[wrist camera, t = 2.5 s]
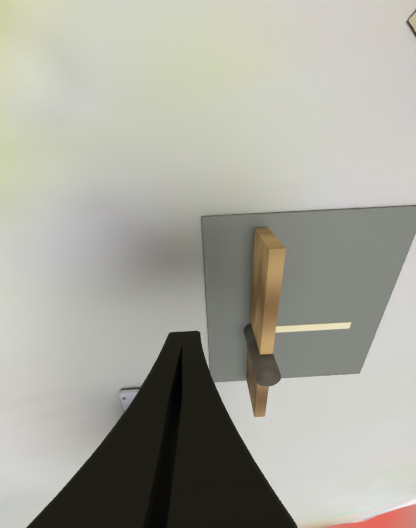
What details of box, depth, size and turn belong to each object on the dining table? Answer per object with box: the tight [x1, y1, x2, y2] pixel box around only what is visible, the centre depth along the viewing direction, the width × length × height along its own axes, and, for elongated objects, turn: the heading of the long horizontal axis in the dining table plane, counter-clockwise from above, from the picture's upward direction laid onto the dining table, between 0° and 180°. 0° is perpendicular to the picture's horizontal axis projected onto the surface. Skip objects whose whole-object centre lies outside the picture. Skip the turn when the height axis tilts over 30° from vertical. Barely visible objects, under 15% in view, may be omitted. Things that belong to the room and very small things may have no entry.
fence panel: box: [250, 228, 286, 354], centre depth 17 cm, size 9×1×4 cm, turn 2°
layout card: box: [202, 205, 416, 382], centre depth 21 cm, size 19×17×1 cm
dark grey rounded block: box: [244, 323, 281, 417], centre depth 21 cm, size 8×2×5 cm, turn 2°
